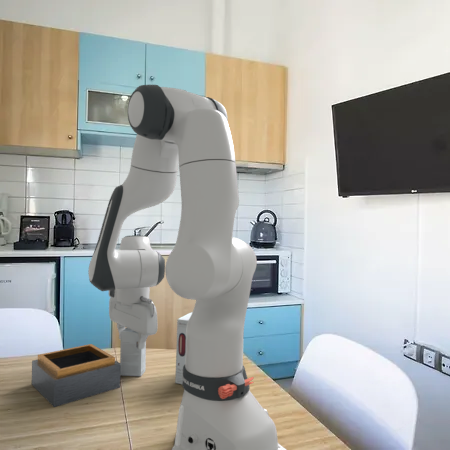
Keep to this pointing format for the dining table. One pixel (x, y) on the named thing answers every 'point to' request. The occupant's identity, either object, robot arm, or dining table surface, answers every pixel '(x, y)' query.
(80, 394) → the grey open box
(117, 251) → the robot arm
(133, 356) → the skincare box
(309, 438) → the dining table surface
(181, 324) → the supplement box
